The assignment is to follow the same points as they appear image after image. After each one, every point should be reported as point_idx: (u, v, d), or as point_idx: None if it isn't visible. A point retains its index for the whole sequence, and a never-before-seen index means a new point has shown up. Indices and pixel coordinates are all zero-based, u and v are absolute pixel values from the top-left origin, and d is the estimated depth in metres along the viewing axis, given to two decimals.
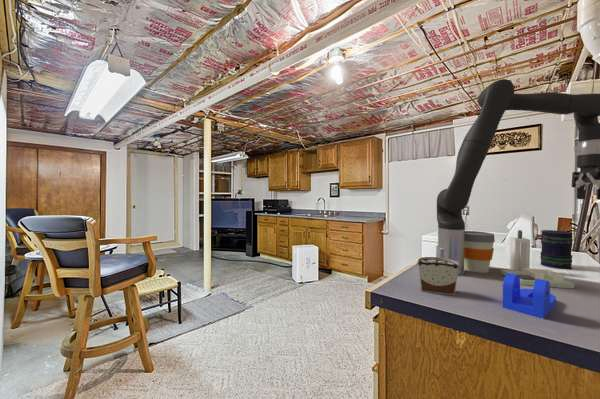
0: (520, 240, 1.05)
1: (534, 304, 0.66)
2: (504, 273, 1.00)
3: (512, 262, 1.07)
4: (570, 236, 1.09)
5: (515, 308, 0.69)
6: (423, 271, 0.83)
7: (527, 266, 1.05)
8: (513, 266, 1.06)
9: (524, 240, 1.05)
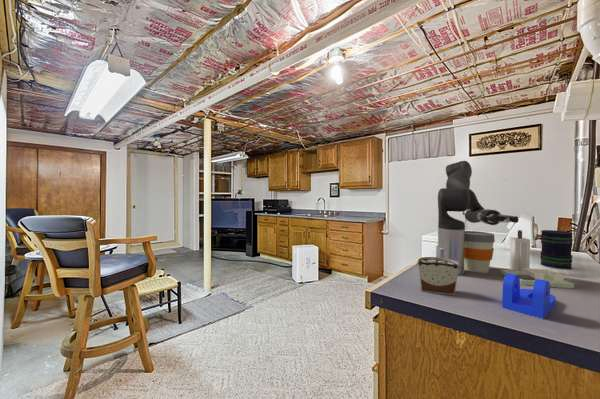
0: (520, 240, 1.05)
1: (534, 304, 0.66)
2: (504, 273, 1.00)
3: (512, 262, 1.07)
4: (570, 236, 1.09)
5: (515, 308, 0.69)
6: (423, 271, 0.83)
7: (527, 266, 1.05)
8: (513, 266, 1.06)
9: (524, 240, 1.05)
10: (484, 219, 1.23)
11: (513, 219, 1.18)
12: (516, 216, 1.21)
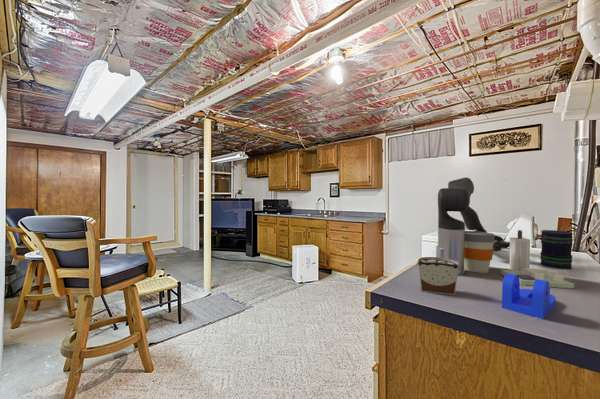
0: (520, 240, 1.05)
1: (534, 304, 0.66)
2: (504, 273, 1.00)
3: (512, 262, 1.07)
4: (570, 236, 1.09)
5: (514, 308, 0.69)
6: (423, 271, 0.83)
7: (527, 266, 1.05)
8: (513, 266, 1.06)
9: (524, 240, 1.05)
10: None
11: None
12: None
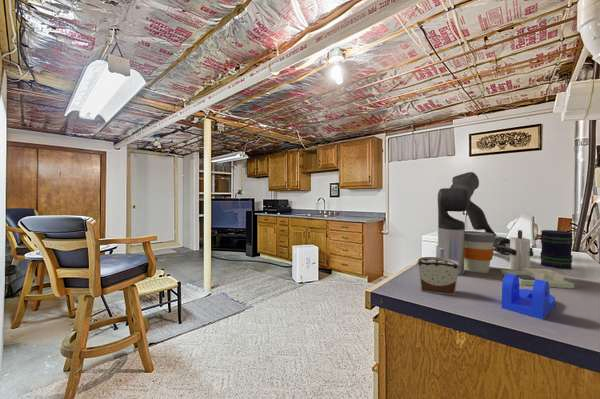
0: (520, 240, 1.05)
1: (533, 305, 0.66)
2: (504, 273, 1.00)
3: (512, 262, 1.07)
4: (570, 236, 1.09)
5: (514, 309, 0.69)
6: (423, 271, 0.83)
7: (527, 266, 1.05)
8: (513, 266, 1.06)
9: (524, 240, 1.05)
10: (503, 251, 1.10)
11: None
12: (530, 248, 1.08)
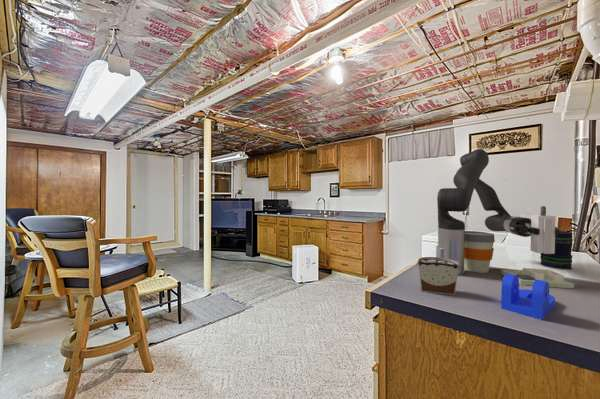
0: (544, 217, 0.91)
1: (533, 305, 0.66)
2: (504, 273, 1.00)
3: (534, 243, 0.94)
4: (570, 236, 1.09)
5: (514, 309, 0.69)
6: (423, 271, 0.83)
7: (552, 247, 0.91)
8: (536, 247, 0.93)
9: (549, 217, 0.91)
10: (523, 230, 0.96)
11: None
12: None
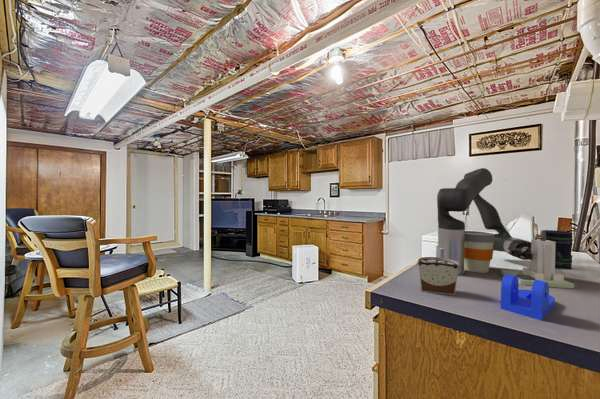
0: (544, 243, 0.91)
1: (532, 305, 0.66)
2: (504, 273, 1.00)
3: (534, 268, 0.94)
4: (570, 236, 1.09)
5: (513, 309, 0.69)
6: (423, 271, 0.83)
7: (552, 273, 0.91)
8: (536, 272, 0.93)
9: (548, 243, 0.91)
10: (516, 254, 0.97)
11: (555, 256, 0.93)
12: None
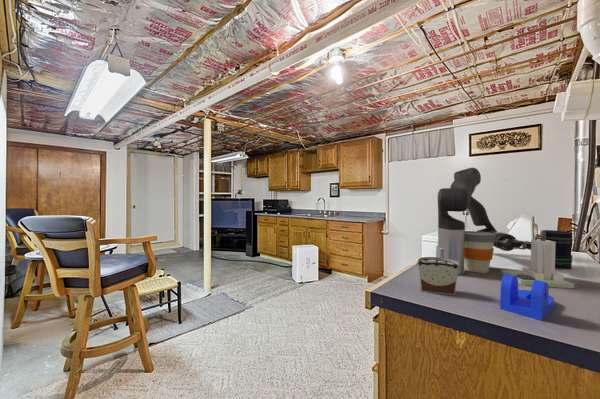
0: (544, 243, 0.91)
1: (532, 306, 0.65)
2: (504, 273, 1.00)
3: (534, 268, 0.94)
4: (570, 236, 1.09)
5: (513, 310, 0.68)
6: (423, 271, 0.83)
7: (552, 273, 0.91)
8: (536, 272, 0.93)
9: (548, 243, 0.91)
10: (498, 245, 1.10)
11: None
12: None
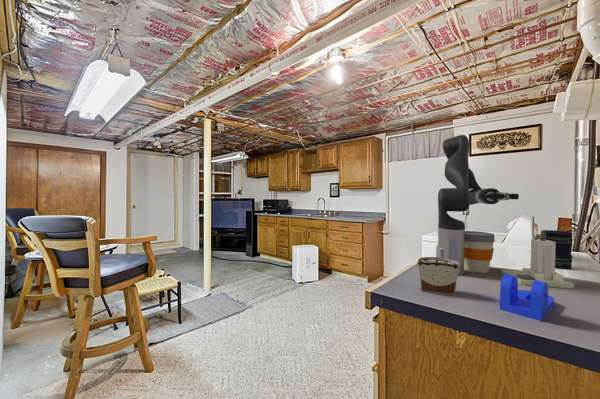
0: (544, 243, 0.91)
1: (532, 306, 0.65)
2: (504, 273, 1.00)
3: (534, 268, 0.94)
4: (570, 236, 1.09)
5: (512, 310, 0.68)
6: (423, 271, 0.83)
7: (552, 273, 0.91)
8: (536, 272, 0.93)
9: (548, 243, 0.91)
10: (482, 197, 1.16)
11: (513, 196, 1.11)
12: (516, 193, 1.13)
